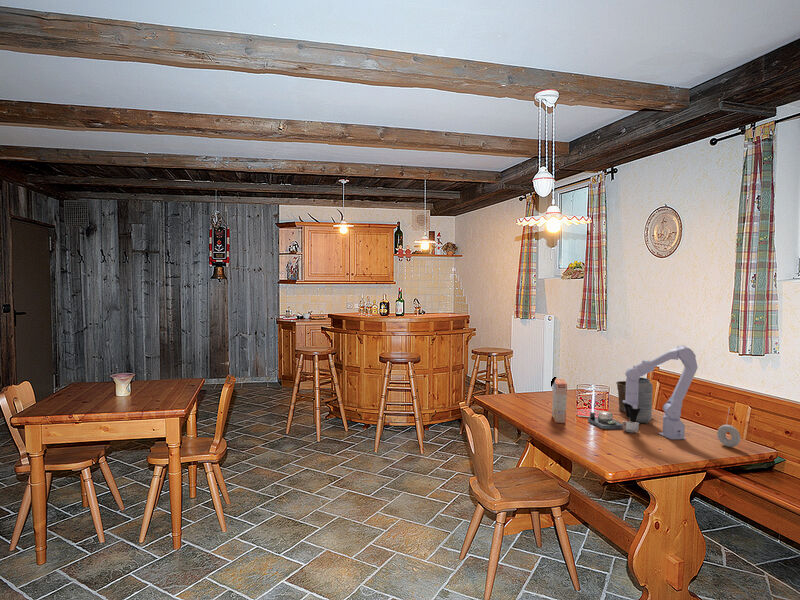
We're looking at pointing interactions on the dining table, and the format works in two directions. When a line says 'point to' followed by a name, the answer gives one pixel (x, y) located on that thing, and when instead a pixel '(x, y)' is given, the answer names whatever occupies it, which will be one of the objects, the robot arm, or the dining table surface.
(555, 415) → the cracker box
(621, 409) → the plant pot
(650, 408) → the vase
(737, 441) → the donut
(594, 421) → the levelling base
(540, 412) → the dining table surface
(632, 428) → the wing knob
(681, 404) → the robot arm
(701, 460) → the dining table surface
